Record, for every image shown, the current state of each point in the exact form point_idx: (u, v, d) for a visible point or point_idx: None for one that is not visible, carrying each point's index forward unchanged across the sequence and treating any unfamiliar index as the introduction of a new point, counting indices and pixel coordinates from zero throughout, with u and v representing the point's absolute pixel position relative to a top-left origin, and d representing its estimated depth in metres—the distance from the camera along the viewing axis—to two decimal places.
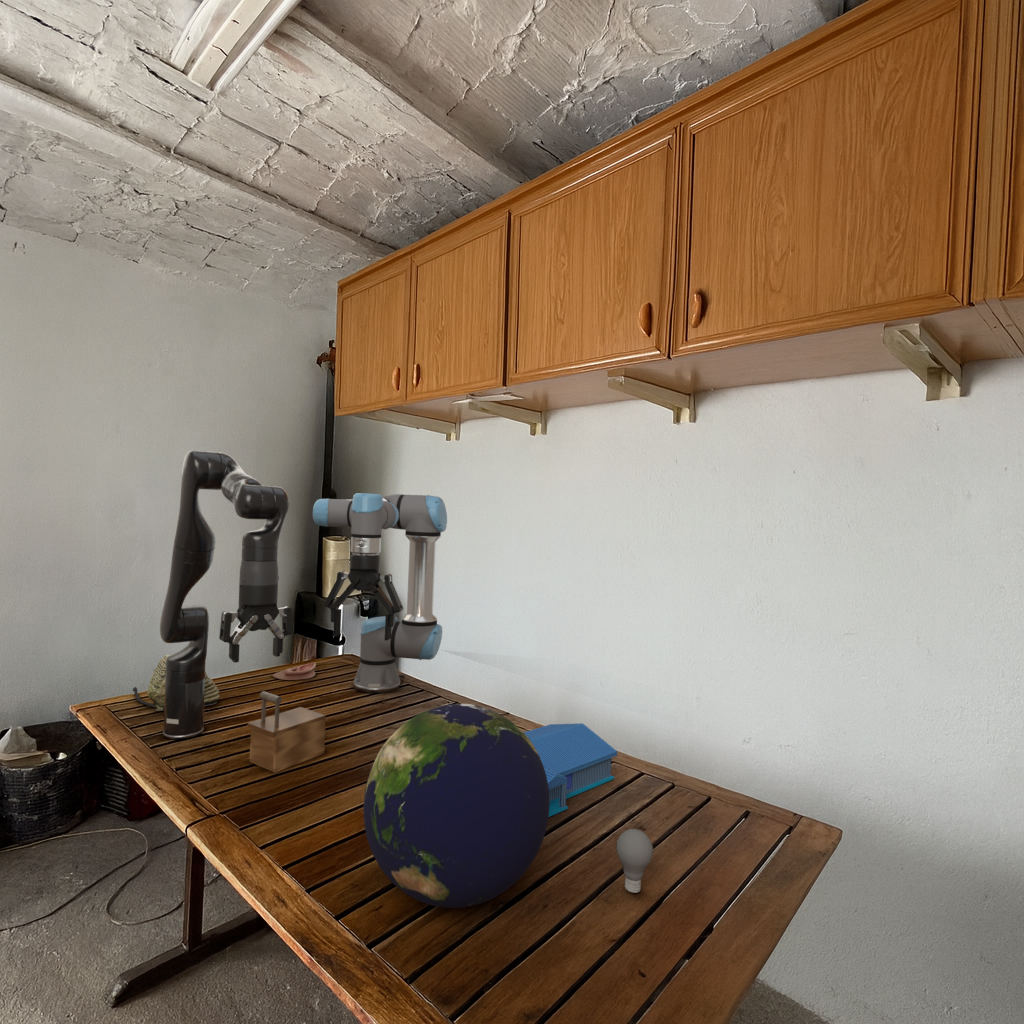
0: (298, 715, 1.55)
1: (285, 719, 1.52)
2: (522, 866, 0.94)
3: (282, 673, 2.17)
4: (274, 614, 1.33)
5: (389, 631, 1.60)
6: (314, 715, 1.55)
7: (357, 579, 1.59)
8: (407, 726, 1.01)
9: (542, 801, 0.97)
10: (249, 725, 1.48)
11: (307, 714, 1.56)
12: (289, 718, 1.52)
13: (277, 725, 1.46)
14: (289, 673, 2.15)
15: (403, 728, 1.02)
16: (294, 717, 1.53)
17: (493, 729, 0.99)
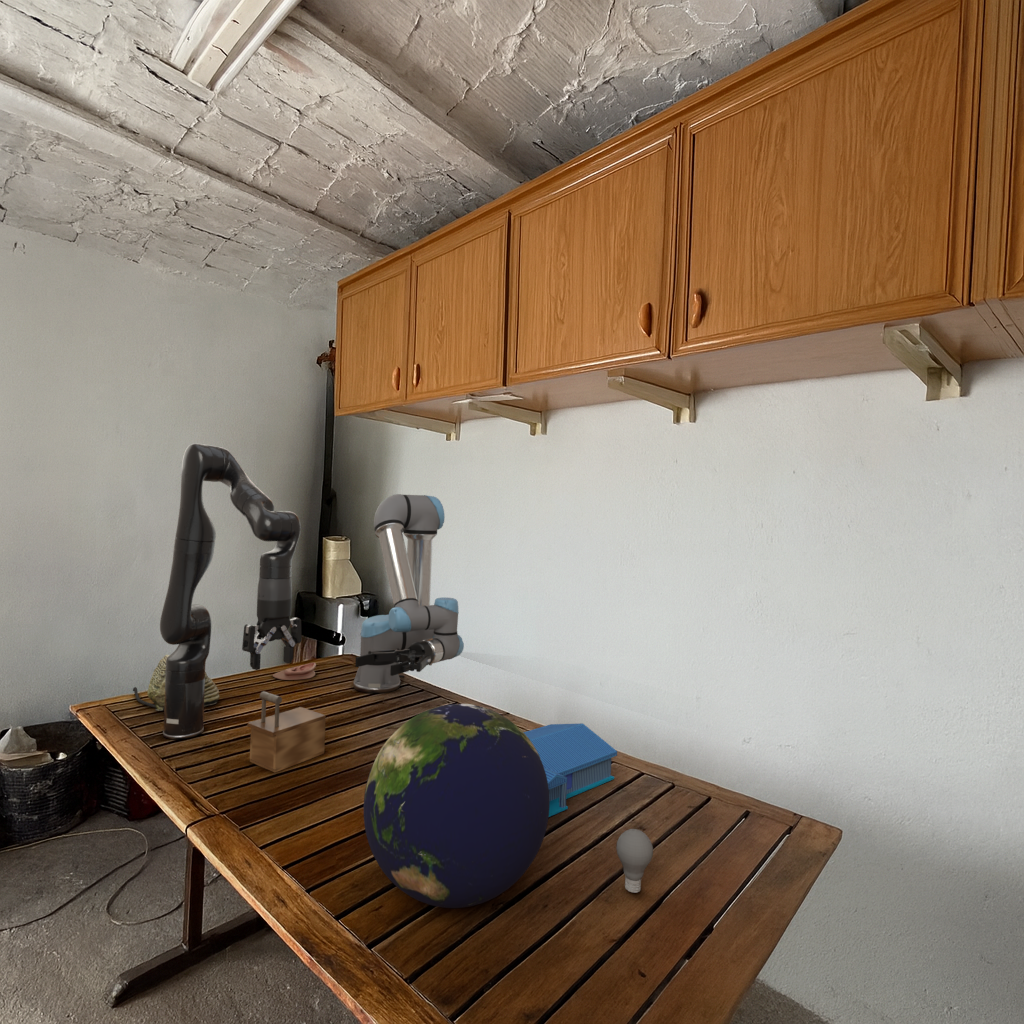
0: (298, 715, 1.55)
1: (285, 719, 1.52)
2: (522, 866, 0.94)
3: (282, 673, 2.17)
4: None
5: None
6: (314, 715, 1.55)
7: None
8: (407, 726, 1.01)
9: (542, 801, 0.97)
10: (249, 725, 1.48)
11: (307, 714, 1.56)
12: (289, 718, 1.52)
13: (277, 725, 1.46)
14: (289, 673, 2.15)
15: (403, 728, 1.02)
16: (294, 717, 1.53)
17: (493, 729, 0.99)
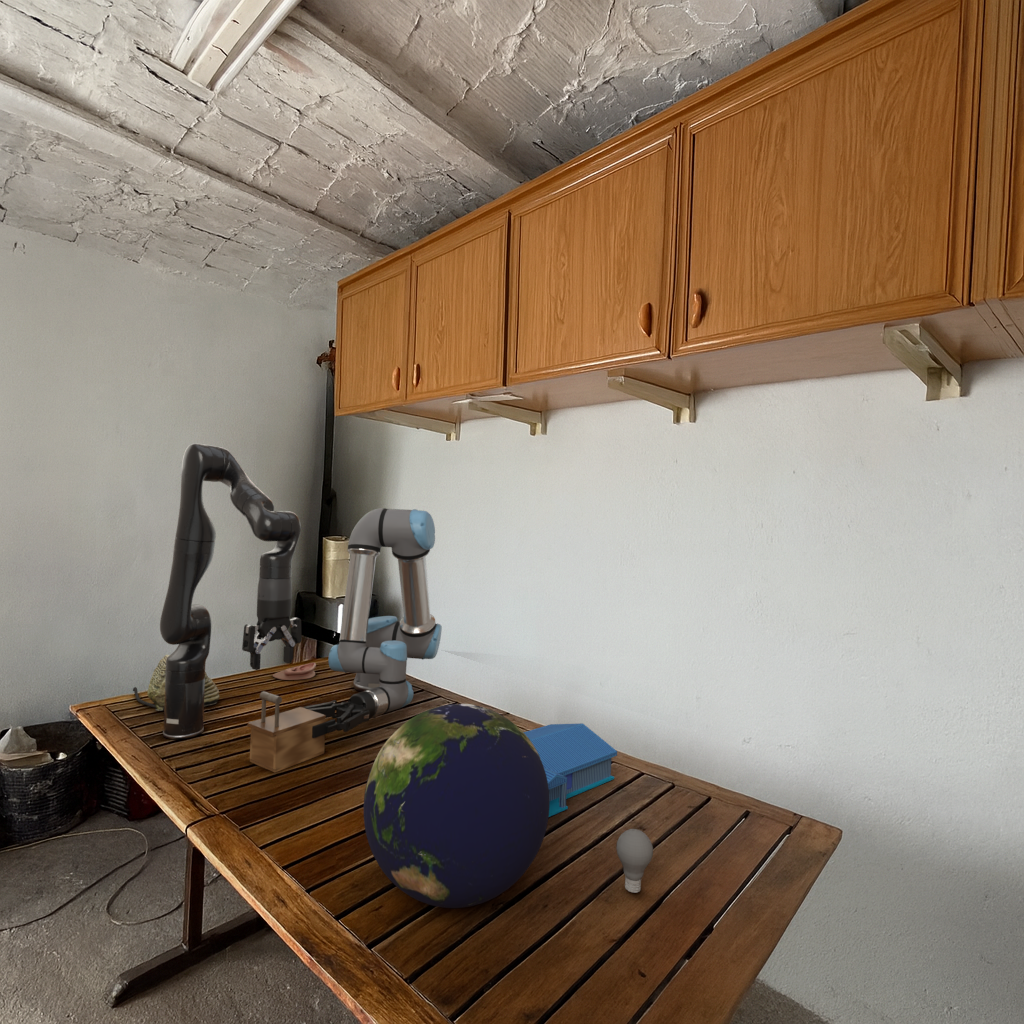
0: (298, 715, 1.55)
1: (285, 719, 1.52)
2: (522, 866, 0.94)
3: (282, 673, 2.17)
4: None
5: None
6: (314, 715, 1.55)
7: None
8: (407, 726, 1.01)
9: (542, 801, 0.97)
10: (249, 725, 1.48)
11: (307, 714, 1.56)
12: (289, 718, 1.52)
13: (277, 725, 1.46)
14: (289, 673, 2.15)
15: (403, 728, 1.02)
16: (294, 717, 1.53)
17: (493, 729, 0.99)
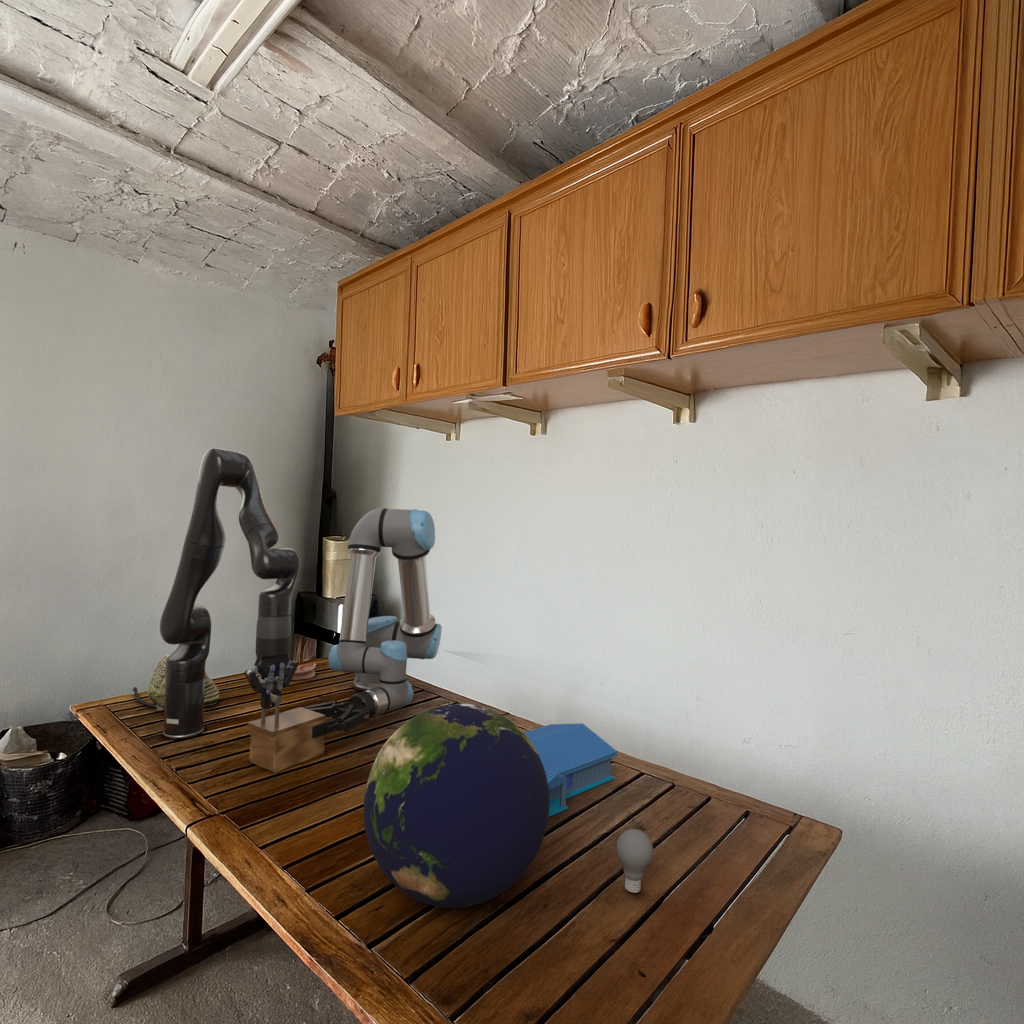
0: (298, 715, 1.55)
1: (285, 719, 1.52)
2: (522, 866, 0.94)
3: None
4: None
5: None
6: (314, 715, 1.55)
7: None
8: (407, 726, 1.01)
9: (542, 801, 0.97)
10: (249, 725, 1.48)
11: (307, 714, 1.56)
12: (289, 718, 1.52)
13: (277, 725, 1.46)
14: None
15: (403, 728, 1.02)
16: (294, 717, 1.53)
17: (493, 729, 0.99)
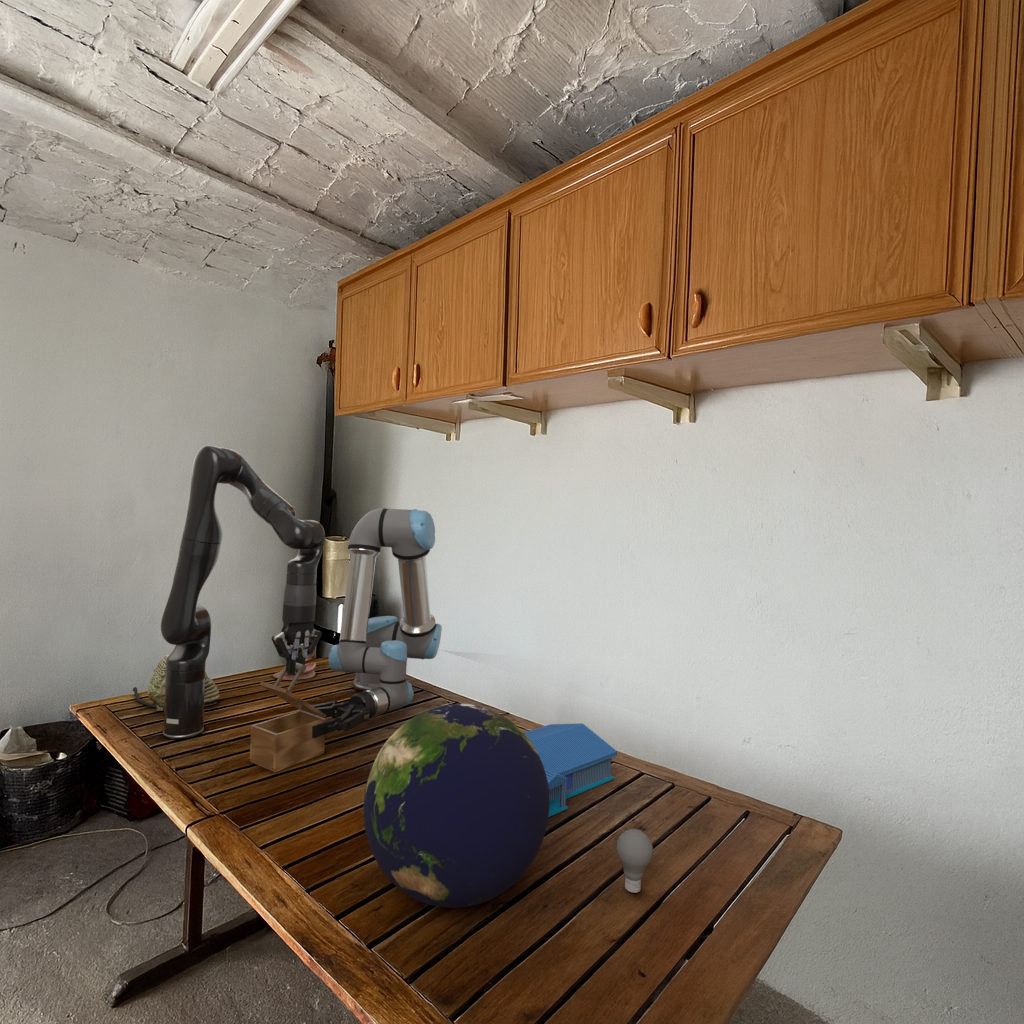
0: None
1: None
2: (522, 866, 0.94)
3: None
4: None
5: None
6: None
7: None
8: (407, 726, 1.01)
9: (542, 801, 0.97)
10: (262, 683, 1.51)
11: None
12: None
13: (289, 690, 1.49)
14: None
15: (403, 728, 1.02)
16: None
17: (493, 729, 0.99)
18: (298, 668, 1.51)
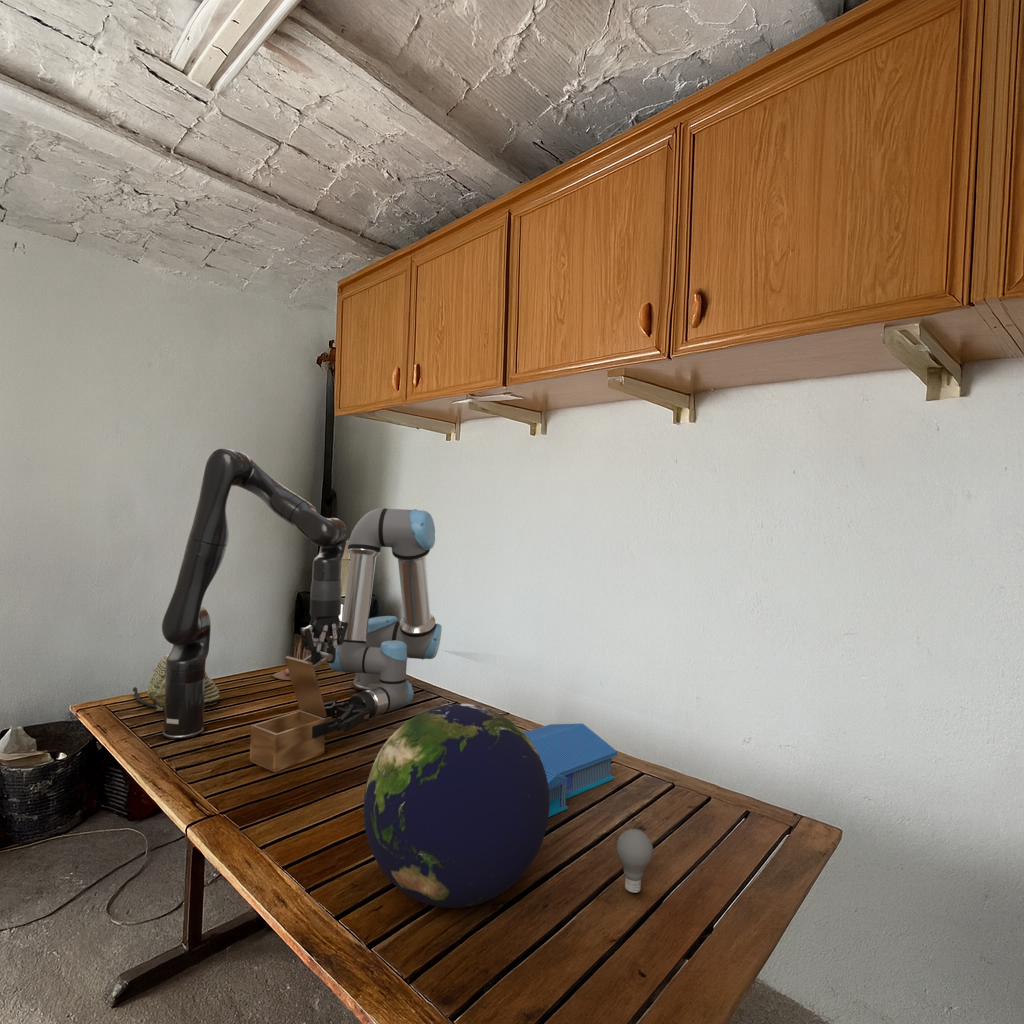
0: None
1: None
2: (522, 866, 0.94)
3: (282, 673, 2.17)
4: None
5: None
6: None
7: None
8: (407, 726, 1.01)
9: (542, 801, 0.97)
10: (287, 657, 1.56)
11: None
12: None
13: None
14: None
15: (403, 728, 1.02)
16: None
17: (493, 729, 0.99)
18: (325, 655, 1.58)
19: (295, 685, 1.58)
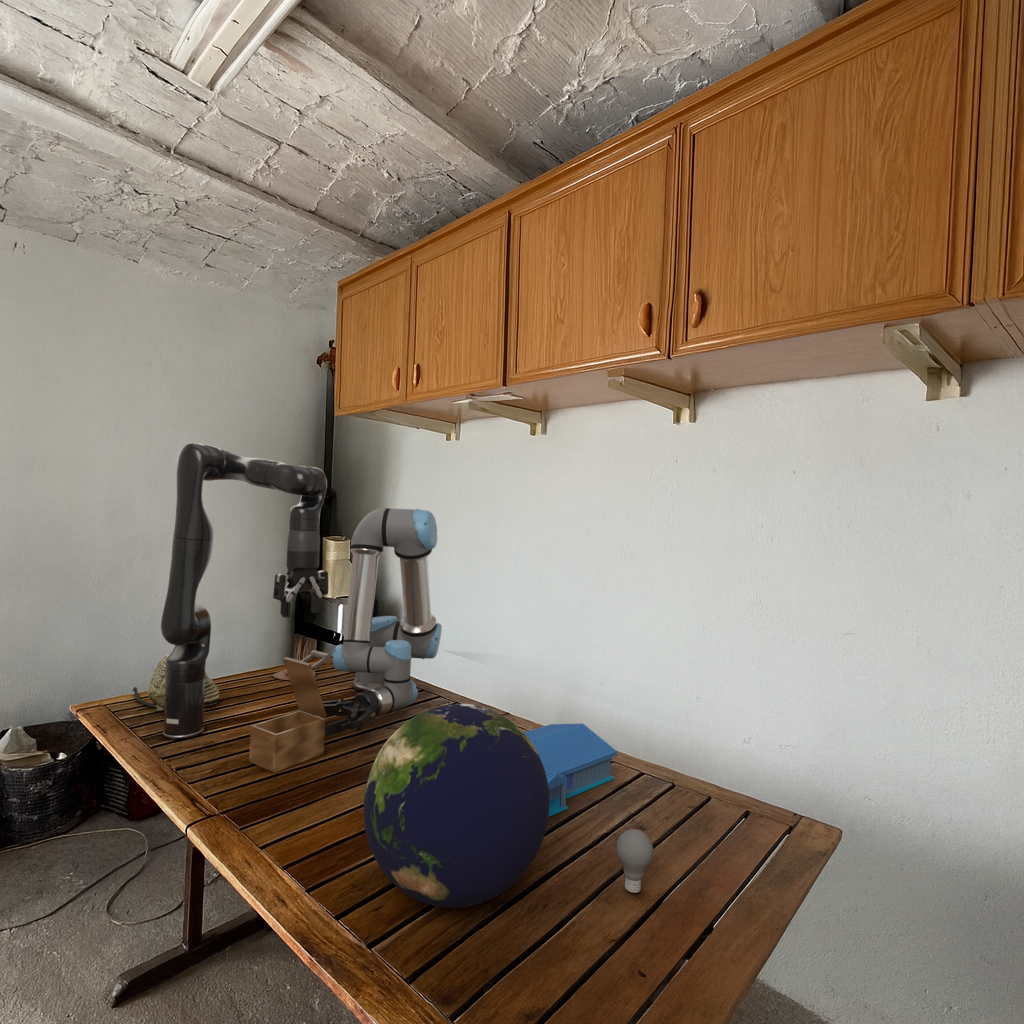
0: None
1: None
2: (522, 866, 0.94)
3: (282, 673, 2.17)
4: None
5: None
6: None
7: None
8: (407, 726, 1.01)
9: (542, 801, 0.97)
10: (286, 658, 1.56)
11: None
12: None
13: None
14: None
15: (403, 728, 1.02)
16: None
17: (493, 729, 0.99)
18: (324, 656, 1.58)
19: (294, 686, 1.58)
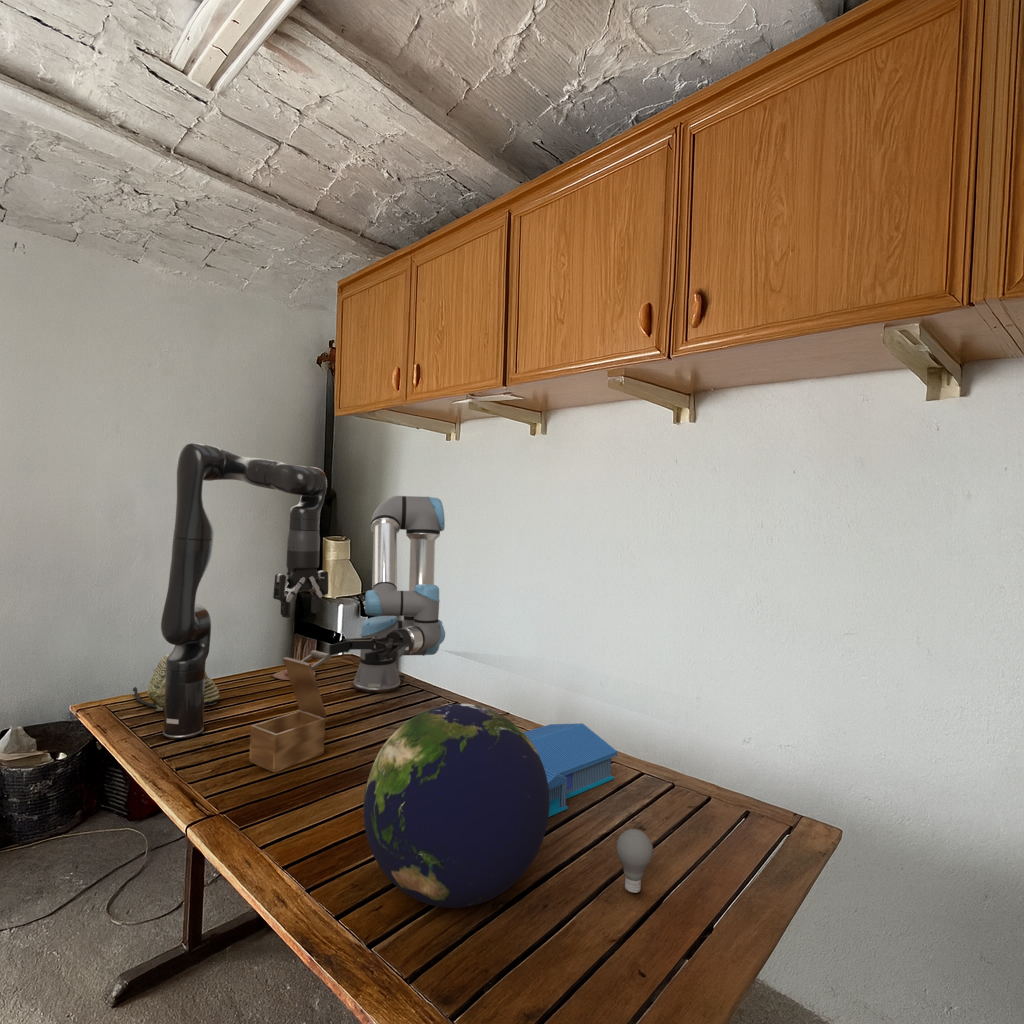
0: None
1: None
2: (522, 866, 0.94)
3: (282, 673, 2.17)
4: None
5: None
6: None
7: None
8: (407, 726, 1.01)
9: (542, 801, 0.97)
10: (286, 658, 1.56)
11: None
12: None
13: None
14: None
15: (403, 728, 1.02)
16: None
17: (493, 729, 0.99)
18: (324, 656, 1.58)
19: (294, 686, 1.58)
